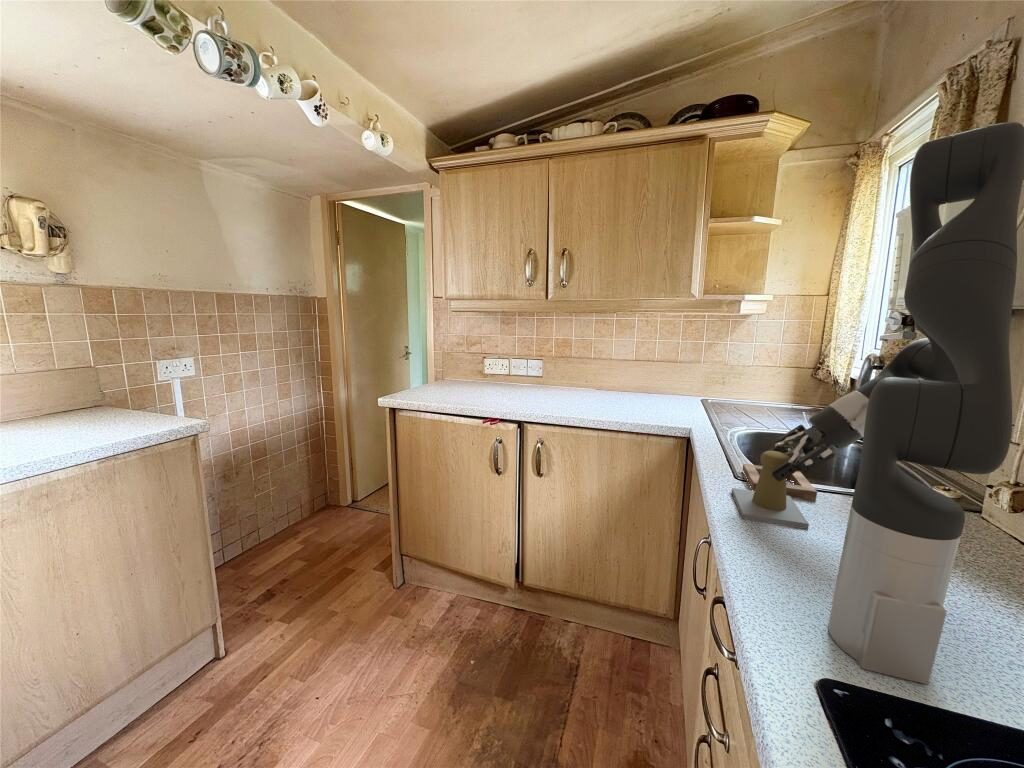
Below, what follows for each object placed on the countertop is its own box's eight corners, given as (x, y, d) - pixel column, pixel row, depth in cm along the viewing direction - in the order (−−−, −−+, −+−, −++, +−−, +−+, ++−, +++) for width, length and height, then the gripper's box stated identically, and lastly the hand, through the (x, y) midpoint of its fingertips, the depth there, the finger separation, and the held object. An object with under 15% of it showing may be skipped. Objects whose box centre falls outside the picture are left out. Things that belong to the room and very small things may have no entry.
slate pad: (808, 528, 77) (808, 523, 77) (742, 518, 81) (742, 513, 80) (788, 500, 88) (789, 495, 88) (731, 492, 92) (732, 487, 92)
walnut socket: (815, 500, 88) (817, 491, 88) (752, 491, 92) (753, 483, 92) (797, 478, 100) (799, 470, 99) (742, 471, 103) (743, 463, 103)
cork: (755, 493, 89) (762, 445, 87) (788, 502, 85) (796, 452, 83) (749, 504, 84) (756, 453, 82) (784, 514, 80) (792, 461, 78)
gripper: (818, 397, 84) (747, 443, 90) (848, 414, 71) (763, 467, 77) (845, 424, 83) (772, 470, 89) (880, 447, 70) (792, 498, 76)
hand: (768, 468), depth 83 cm, fingers open, 8 cm apart
